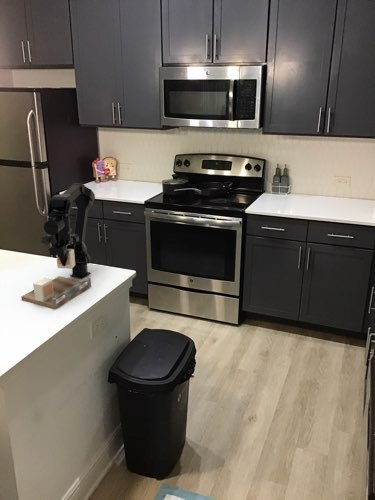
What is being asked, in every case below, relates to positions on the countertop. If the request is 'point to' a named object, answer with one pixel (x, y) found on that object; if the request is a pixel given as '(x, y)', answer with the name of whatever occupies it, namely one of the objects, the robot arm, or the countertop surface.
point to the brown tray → (61, 292)
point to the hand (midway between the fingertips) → (66, 263)
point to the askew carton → (70, 260)
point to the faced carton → (43, 289)
